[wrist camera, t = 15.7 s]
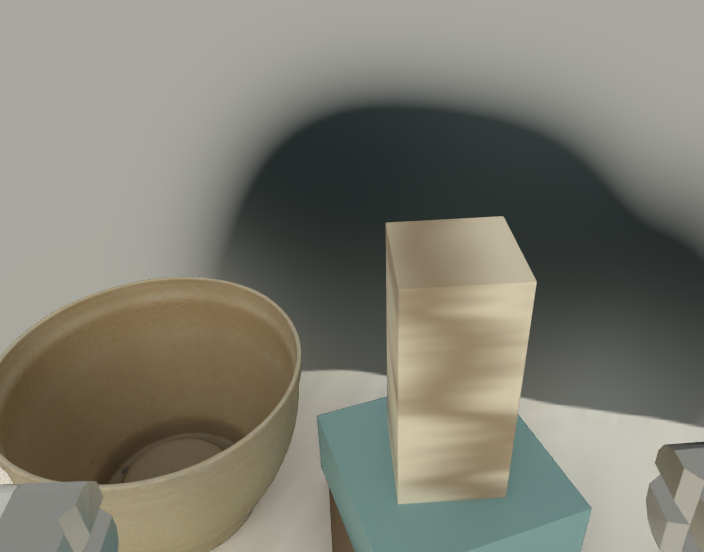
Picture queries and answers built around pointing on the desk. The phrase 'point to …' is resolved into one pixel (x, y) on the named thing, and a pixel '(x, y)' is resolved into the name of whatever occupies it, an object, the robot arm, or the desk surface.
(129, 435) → the planter bowl
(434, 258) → the ash pillar block
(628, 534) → the desk surface
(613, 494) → the desk surface
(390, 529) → the teal top block
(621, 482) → the desk surface
